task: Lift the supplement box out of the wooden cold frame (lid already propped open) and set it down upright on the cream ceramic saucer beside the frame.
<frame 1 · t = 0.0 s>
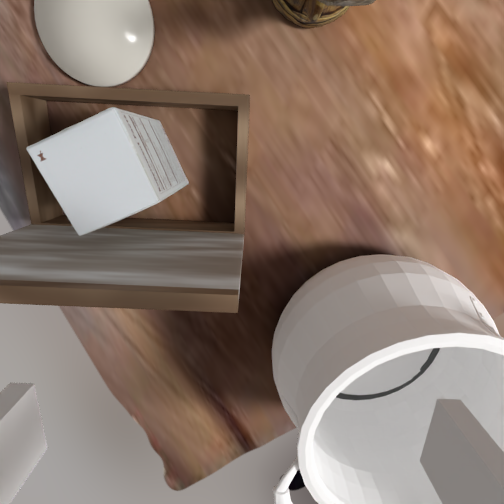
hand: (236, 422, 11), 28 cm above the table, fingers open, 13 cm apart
cold frame: (146, 165, 35), on the table
wooden mug: (306, 0, 31), on the table
supplement box: (147, 165, 35), resting in cold frame
saucer: (97, 24, 31), on the table
pot: (362, 332, 42), on the table
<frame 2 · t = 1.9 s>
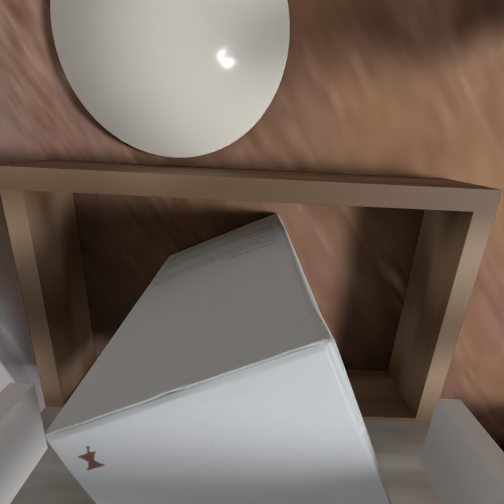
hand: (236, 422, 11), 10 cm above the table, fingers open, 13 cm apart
cold frame: (246, 285, 20), on the table
supplement box: (246, 283, 20), resting in cold frame
saucer: (175, 39, 16), on the table
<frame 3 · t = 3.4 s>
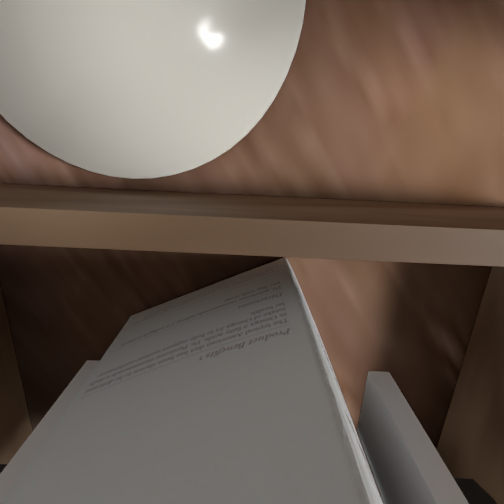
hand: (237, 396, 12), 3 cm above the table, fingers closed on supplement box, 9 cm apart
cold frame: (240, 353, 14), on the table
supplement box: (241, 350, 14), resting in cold frame, touching gripper
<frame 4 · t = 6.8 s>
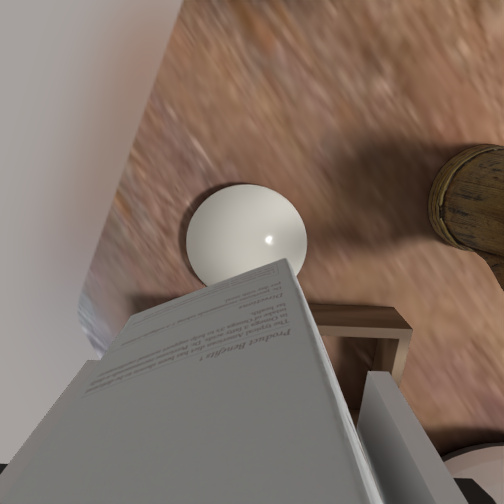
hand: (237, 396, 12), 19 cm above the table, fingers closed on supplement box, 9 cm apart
cold frame: (279, 361, 34), on the table
wooden mug: (465, 221, 29), on the table
supplement box: (241, 350, 14), point 16 cm above the table, touching gripper
saucer: (246, 243, 30), on the table
pot: (477, 499, 41), on the table
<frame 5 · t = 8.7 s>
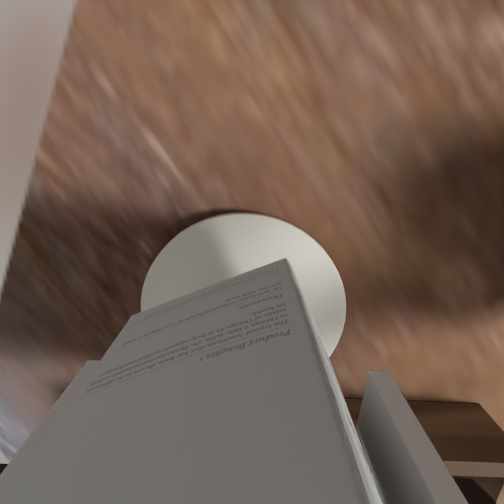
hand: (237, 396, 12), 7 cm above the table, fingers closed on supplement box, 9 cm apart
cold frame: (294, 477, 22), on the table
supplement box: (241, 350, 14), point 4 cm above the table, touching gripper
saucer: (243, 308, 18), on the table
when the fingers open (5 cm above the table, at t = 10.1 s): supplement box drops 1 cm, resting on saucer.
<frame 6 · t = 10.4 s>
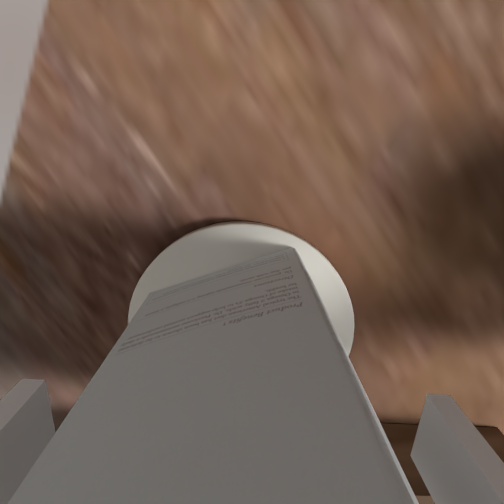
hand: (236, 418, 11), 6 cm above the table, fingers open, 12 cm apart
supplement box: (247, 331, 16), point 1 cm above the table, touching saucer
saucer: (241, 326, 16), on the table
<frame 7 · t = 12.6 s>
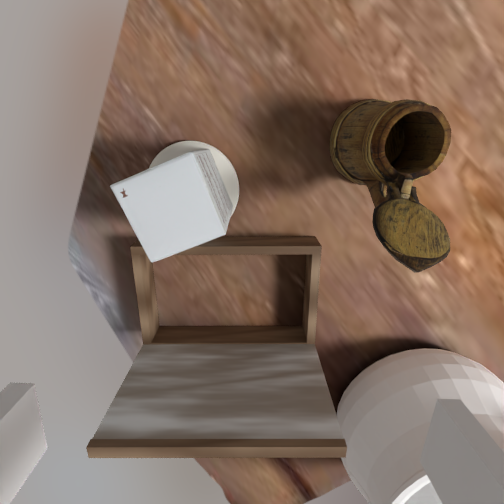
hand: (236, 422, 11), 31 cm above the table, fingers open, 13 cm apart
cold frame: (229, 287, 43), on the table
wooden mug: (361, 162, 38), on the table
supplement box: (195, 188, 38), point 1 cm above the table, touching saucer
saucer: (193, 189, 39), on the table
pot: (407, 403, 49), on the table
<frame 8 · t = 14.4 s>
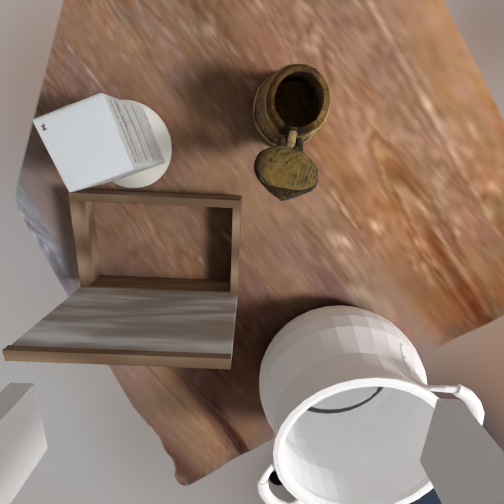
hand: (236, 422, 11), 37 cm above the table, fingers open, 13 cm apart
cold frame: (164, 240, 47), on the table
wooden mug: (281, 129, 42), on the table
supplement box: (131, 145, 42), point 1 cm above the table, touching saucer
saucer: (131, 145, 43), on the table
pot: (330, 360, 54), on the table
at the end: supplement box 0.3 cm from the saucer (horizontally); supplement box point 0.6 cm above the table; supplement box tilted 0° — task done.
